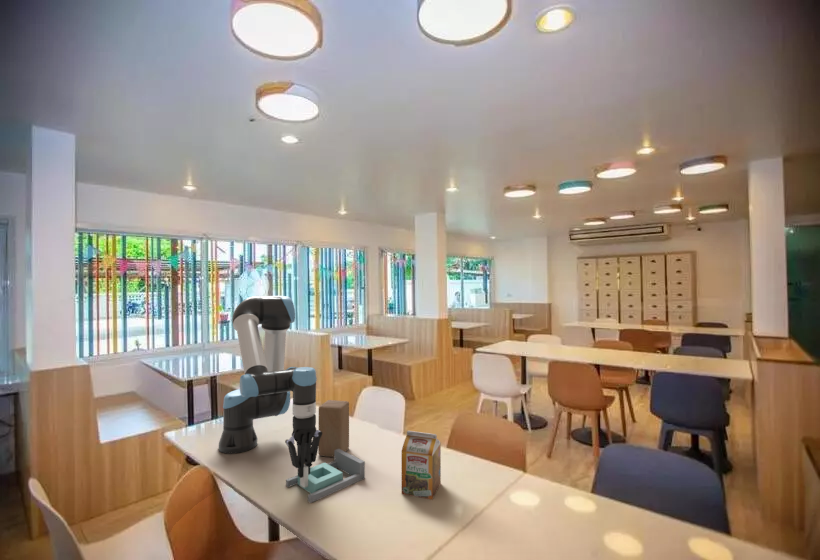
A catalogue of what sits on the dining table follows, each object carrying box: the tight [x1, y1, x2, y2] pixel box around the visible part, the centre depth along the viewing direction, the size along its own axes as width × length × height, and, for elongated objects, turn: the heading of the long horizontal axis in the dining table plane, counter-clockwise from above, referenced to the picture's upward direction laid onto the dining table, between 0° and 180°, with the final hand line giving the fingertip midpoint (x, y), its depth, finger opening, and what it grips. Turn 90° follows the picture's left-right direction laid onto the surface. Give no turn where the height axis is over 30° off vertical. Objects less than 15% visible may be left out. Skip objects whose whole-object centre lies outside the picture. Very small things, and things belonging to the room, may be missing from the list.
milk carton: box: [401, 430, 442, 501], centre depth 134 cm, size 11×11×19 cm
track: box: [285, 449, 366, 504], centre depth 138 cm, size 16×22×6 cm
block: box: [317, 399, 350, 458], centre depth 162 cm, size 10×10×20 cm
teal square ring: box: [297, 462, 344, 494], centre depth 136 cm, size 11×11×4 cm
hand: (304, 485), depth 132 cm, fingers closed
